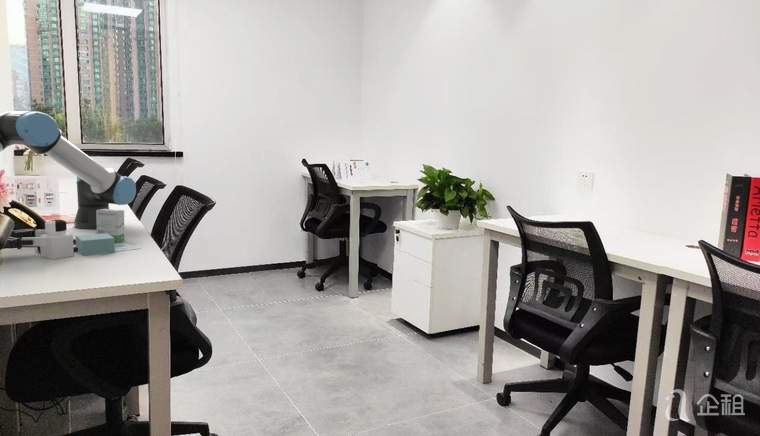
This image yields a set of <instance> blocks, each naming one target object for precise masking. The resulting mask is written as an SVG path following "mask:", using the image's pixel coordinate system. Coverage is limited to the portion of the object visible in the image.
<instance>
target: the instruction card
mask: <svg viewBox="0 0 760 436" xmlns="http://www.w3.org/2000/svg"><path fill="white" fill-rule="evenodd" d="M114 244H115V252H125V251H132V250H133V251H134V250H139V249H141V248H140V247H137V246H135V245H132V244H130V243H126V242H124V243H122V242H121V243H114Z"/></svg>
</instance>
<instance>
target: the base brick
mask: <svg viewBox="0 0 760 436" xmlns="http://www.w3.org/2000/svg"><path fill="white" fill-rule="evenodd" d="M115 244H116V243H115V242H114V237H112V236H110V235H109V234H107V233H103V234H97V233H93V234H92V233H91V234H90V233H89V234H81V235H80V234H79V235H75V248H76V247H77V248H78V251H77V252H78V253H79V254H80V255H82V256H90V255H92V256H93V255H101V254H109V253H110V254H111V253H115V252H116V251H115Z"/></svg>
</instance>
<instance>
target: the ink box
mask: <svg viewBox="0 0 760 436" xmlns="http://www.w3.org/2000/svg"><path fill="white" fill-rule="evenodd" d="M96 222H97V228H96V234H103V233H107V234H109V235H110V236H112V237H114V243H119V242H122V241H125V209H112V208H111V209H110V208H109V209H100V210H96Z"/></svg>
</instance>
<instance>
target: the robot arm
mask: <svg viewBox="0 0 760 436" xmlns="http://www.w3.org/2000/svg"><path fill="white" fill-rule="evenodd" d="M62 135H63V134H62V130H61V129H60V128H58V124H57V122H56V121H55V119H54V118H53V117H52V116H50V115H49V114H47V113H44V112H41V111H36V110H32V111H31V110H30V111H24V110H23V111H22V110H21V111H19V110H18V111H17V110H9V111H6V112H3V113H1V114H0V152H3V151H4V150H5V149H7V148H8V147H10V146H12V145H21V146H22V145H23V146H25V147H26V148H28V149H30V150H31V151H33V152H34V153H36V154H37V155H46V156H48V157H49V158H50V159H52V160H53V161H55V162H56V163H58V164H59V165H60V166H62V167H63V168H65V169H66V170H67V171H69V172H71V173H72V174H73V175H75V176H76V183H75V184H76V191H77V194H76V195H77V211H76V214H75V218H74V222H73V225H74V228H77V229H88V230H90V229H95V230H96V229H97V222H96V210H100V209H110V206H109V205H110V204H111V205H112V204H113V205H116V206H117V205H118V206H126V205H128V204H130V203H132V202H133V200H134V199H135V196H136V194H137V184H136V182H135V181H134V179H133V178H132V177H128V176H125V175H124V176H122V175H121V174H120V173H118V172H116V171H115V169H113V168H110V167H108V168H105V167H104V166H102V165H101V164H100V163H98V162H97V161H96V160H94V159H93V158H92V157H90V156H89V155H88V154H86V153H85V152H83V151H82V150H81V149H80V148H78V147H77V146H76V145H74V144H73V143H71V141H69V140H67V139H66V138H65V137H63V136H62ZM11 231H12V230H11ZM45 234H46V233H45V229H37V227H35V226H34V227H33V228H29V229H28V228H26V229H15V230H13V231H12V233H11V235H10V237H9V239H8V241H7V243H6V245H5V247H4V248H8V249H11V248H12V249H17V250H22V248H23V247H40V246H46V237H40V235H45Z"/></svg>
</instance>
